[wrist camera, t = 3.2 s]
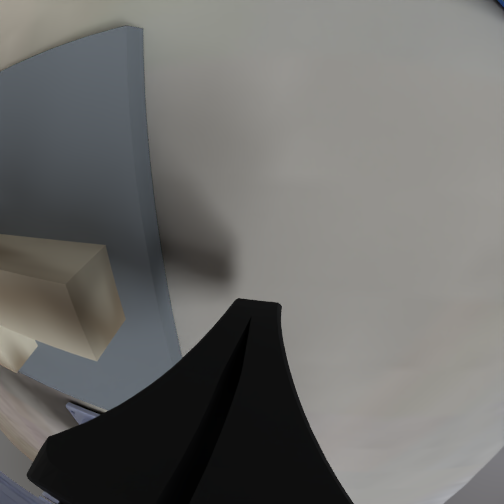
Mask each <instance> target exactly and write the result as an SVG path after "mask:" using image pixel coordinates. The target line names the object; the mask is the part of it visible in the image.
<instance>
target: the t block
mask: <svg viewBox="0 0 504 504" xmlns="http://www.w3.org/2000/svg"><path fill="white" fill-rule="evenodd" d="M125 320H126V318H125V315H124V312H123V308H122V305H121V302H120V298H119V295H118V291H117V288H116V284H115V280H114V277H113V273H112V269H111V265H110V261H109V257H108V253H107V249H106V245H100V244H91V243H81V242H71V241H62V240H52V239H43V238H33V237H24V236H14V235H5V234H0V365H2V366H4V367H6V368H7V369H9V370H11V371H13V372H15V373H17V372H18V371H19V370H20V368H21V367H22V366H23V364H24V363H25V362H26V361H27V359H28V358H29V357H30V355H31V354H32V353H33V352H34V350H35V349H36V348H37V347H38V345H37V343H36V341H35V340H37V341H39V342H42V343H45V344H47V345H50V346H53V347H55V348H58V349H61V350H64V351H67V352H70V353H72V354H75V355H78V356H81V357H84V358H88V359H91V360H94V361H98V359H99V358H100V356H101V355H102V353H103V352H104V350H105V349H106V347H107V346H108V344H109V343H110V341H111V340H112V339H113V337H114V336H115V334H116V333H117V331H118V330H119V328H120V327H121V325H122V324H123V322H124V321H125Z"/></svg>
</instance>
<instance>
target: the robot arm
mask: <svg viewBox="0 0 504 504" xmlns="http://www.w3.org/2000/svg"><path fill="white" fill-rule="evenodd" d="M281 309H282V306H281V305H280V304H279V303H276V302H266V301H257V300H248V299H240V298H238V299H236V300H235V301H234V302H233V304H232V305H231V306H230V307H229V309H228V310H227V311H226V312H225V314H224V315H223V316H222V317H221V318H220V320H219V321H218V322H217V323H216V324H215V325H214V327H213V328H212V329H211V330H210V331H209V332H208V333H207V334H206V335H205V336H204V337H203V338H202V339H201V340H200V342H199V343H198V344H197V345H196V346H195V347H194V348H192V349H191V350H190V351H189V352H188V353H187V354H186V355H185V356H184V357H183V358H182V359H181V360H180V361H179V362H178V363H176V364H175V365H174V366H173V367H172V368H171V369H169V370H168V371H167V372H166V373H164V374H163V375H162V376H161V377H159V378H158V379H157V380H155V381H154V382H153V383H152V384H150V385H149V386H147V387H146V388H144V389H143V390H141V391H140V392H139V393H137V394H136V395H134V396H133V397H131V398H129V399H128V400H126V401H125V402H123V403H121V404H120V405H118V406H116V407H114V408H112V409H110V410H109V411H107V412H105V413H103V414H101V415H100V414H97V413H95V412H92V411H90V410H87V409H85V408H82V407H80V406H77V405H75V404H73V403H70V402H68V403H67V404H66V407H67V409H68V410H69V411H70V413H71V414H72V416H73V417H74V418H75V420H76V421H77V422H78V423H79V425H78V426H75V427H73V428H70V429H68V430H65V431H63V432H60V433H58V434H55V435H52V436H49V437H48V438H47V440H46V441H45V443H44V444H43V446H42V447H41V449H40V451H39V452H38V454H37V456H36V458H35V460H34V462H33V463H32V466H31V467H30V469H29V471H28V473H27V477H28V479H29V480H30V481H31V482H33V483H34V484H35V485H36V486H38V487H39V488H41V489H42V490H43V491H44V492H43V494H42V495H43V496H44V497H46V498H47V499H49V500H50V501H52V502H53V503H55V504H354V503H353V502H352V500H351V499H350V497H349V496H348V494H347V493H346V491H345V490H344V488H343V487H342V485H341V484H340V482H339V480H338V479H337V477H336V475H335V474H334V472H333V470H332V468H331V467H330V465H329V463H328V461H327V460H326V458H325V456H324V454H323V452H322V450H321V448H320V446H319V444H318V442H317V440H316V438H315V436H314V434H313V432H312V430H311V427H310V425H309V423H308V420H307V418H306V415H305V413H304V411H303V408H302V405H301V403H300V400H299V397H298V395H297V392H296V389H295V386H294V382H293V379H292V376H291V372H290V369H289V365H288V361H287V357H286V352H285V347H284V343H283V337H282V329H281ZM0 504H52V503H51V502H49V501H48V500H46V499H44V498H43V497H41V496H39V497H36V496H35V495H33V494H31V493H30V492H28V491H27V490H26V489H24V488H23V487H21V486H20V485H18V484H17V483H16V482H14V481H13V480H12V479H10V478H9V477H7V476H6V475H5V474H4V473H2V472H1V471H0Z"/></svg>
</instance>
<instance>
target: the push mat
mask: <svg viewBox="0 0 504 504" xmlns="http://www.w3.org/2000/svg"><path fill="white" fill-rule="evenodd" d="M0 234H5V235H14V236H24V237H33V238H43V239H52V240H62V241H71V242H81V243H91V244H100V245H106V249H107V253H108V257H109V261H110V265H111V269H112V273H113V277H114V280H115V284H116V288H117V291H118V295H119V298H120V302H121V305H122V308H123V312H124V315H125V318H126V320H125V321H124V322H123V324H122V325H121V327H120V328H119V330H118V331H117V333H116V334H115V336H114V337H113V339H112V340H111V341H110V343H109V344H108V346H107V347H106V349H105V350H104V352H103V353H102V355H101V356H100V358H99V359H98V361H94V360H91V359H88V358H84V357H81V356H78V355H75V354H72V353H70V352H67V351H64V350H61V349H58V348H55V347H53V346H50V345H47V344H45V343H42V342H39V341H37V340H35V341H36V343H37V345H38V347H37V348H36V349H35V350H34V352H33V353H32V354H31V355H30V357H29V358H28V359H27V361H26V362H25V363H24V364H23V366H22V367H21V368H20V370H19V371H18V372H20V373H22V374H24V375H26V376H28V377H30V378H32V379H34V380H36V381H38V382H40V383H42V384H45V385H47V386H49V387H51V388H53V389H56V390H58V391H60V392H63V393H65V394H67V395H70V396H72V397H74V398H77V399H79V400H82V401H84V402H87V403H90V404H92V405H95V406H98V407H100V408H103V409H106V410H110V409H112V408H114V407H116V406H118V405H120V404H121V403H123V402H125V401H126V400H128V399H129V398H131V397H133V396H134V395H136V394H137V393H139V392H140V391H141V390H143V389H144V388H146V387H147V386H149V385H150V384H152V383H153V382H154V381H155V380H157V379H158V378H159V377H161V376H162V375H163V374H164V373H166V372H167V371H168V370H169V369H171V368H172V367H173V366H174V365H175V364H176V363H178V362H179V361H180V360H181V359H182V355H181V351H180V346H179V342H178V337H177V332H176V328H175V323H174V318H173V313H172V308H171V302H170V297H169V292H168V286H167V281H166V275H165V269H164V263H163V257H162V251H161V244H160V238H159V231H158V224H157V216H156V209H155V201H154V193H153V184H152V175H151V166H150V156H149V145H148V133H147V120H146V104H145V86H144V57H143V29H142V28H137V27H132V26H123V27H119V28H115V29H111V30H108V31H104V32H100V33H97V34H94V35H90V36H87V37H84V38H81V39H78V40H75V41H72V42H69V43H66V44H64V45H61V46H58V47H55V48H53V49H50V50H48V51H45V52H43V53H40V54H38V55H35V56H33V57H31V58H28V59H26V60H24V61H22V62H19V63H17V64H15V65H13V66H11V67H9V68H7V69H5V70H3V71H1V72H0Z"/></svg>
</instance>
